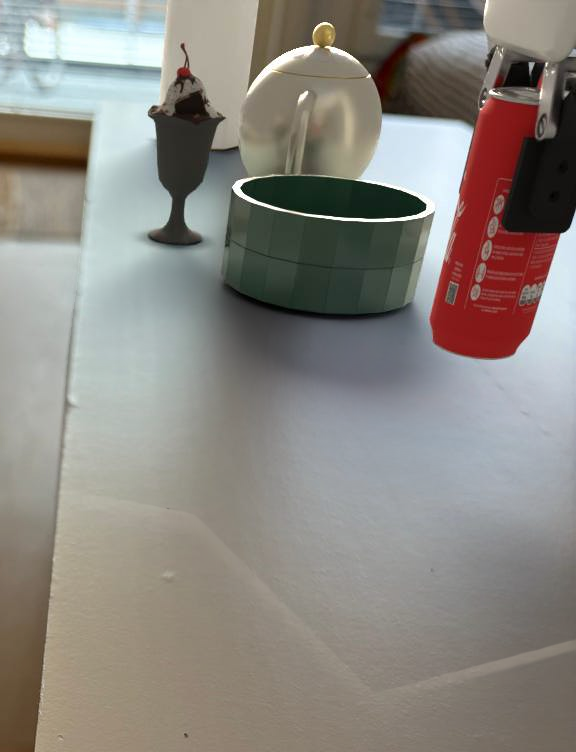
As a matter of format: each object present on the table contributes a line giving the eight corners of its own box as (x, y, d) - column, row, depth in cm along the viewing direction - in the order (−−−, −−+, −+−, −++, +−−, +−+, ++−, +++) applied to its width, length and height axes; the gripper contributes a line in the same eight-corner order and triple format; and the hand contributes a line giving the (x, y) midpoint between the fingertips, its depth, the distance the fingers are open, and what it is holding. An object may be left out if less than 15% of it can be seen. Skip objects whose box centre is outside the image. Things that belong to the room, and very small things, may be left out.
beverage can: (468, 367, 50) (541, 105, 43) (405, 333, 54) (462, 87, 47) (544, 355, 52) (627, 101, 45) (478, 323, 56) (544, 84, 48)
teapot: (240, 190, 106) (264, 11, 96) (367, 205, 103) (404, 23, 93) (209, 228, 92) (233, 24, 82) (354, 247, 89) (397, 38, 79)
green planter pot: (382, 265, 85) (401, 178, 80) (437, 324, 73) (464, 225, 68) (209, 258, 84) (220, 169, 80) (236, 316, 72) (250, 215, 67)
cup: (206, 133, 134) (223, -30, 123) (257, 148, 126) (281, -24, 115) (139, 136, 129) (151, -33, 118) (188, 153, 121) (206, -26, 110)
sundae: (162, 223, 92) (179, 39, 83) (224, 237, 89) (247, 47, 81) (124, 236, 88) (136, 43, 79) (187, 251, 85) (208, 52, 76)
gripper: (889, -312, 31) (667, 268, 42) (635, -249, 45) (517, 178, 56) (662, -325, 31) (499, 264, 42) (476, -257, 44) (389, 174, 55)
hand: (511, 210), depth 49 cm, fingers closed on beverage can, 5 cm apart
